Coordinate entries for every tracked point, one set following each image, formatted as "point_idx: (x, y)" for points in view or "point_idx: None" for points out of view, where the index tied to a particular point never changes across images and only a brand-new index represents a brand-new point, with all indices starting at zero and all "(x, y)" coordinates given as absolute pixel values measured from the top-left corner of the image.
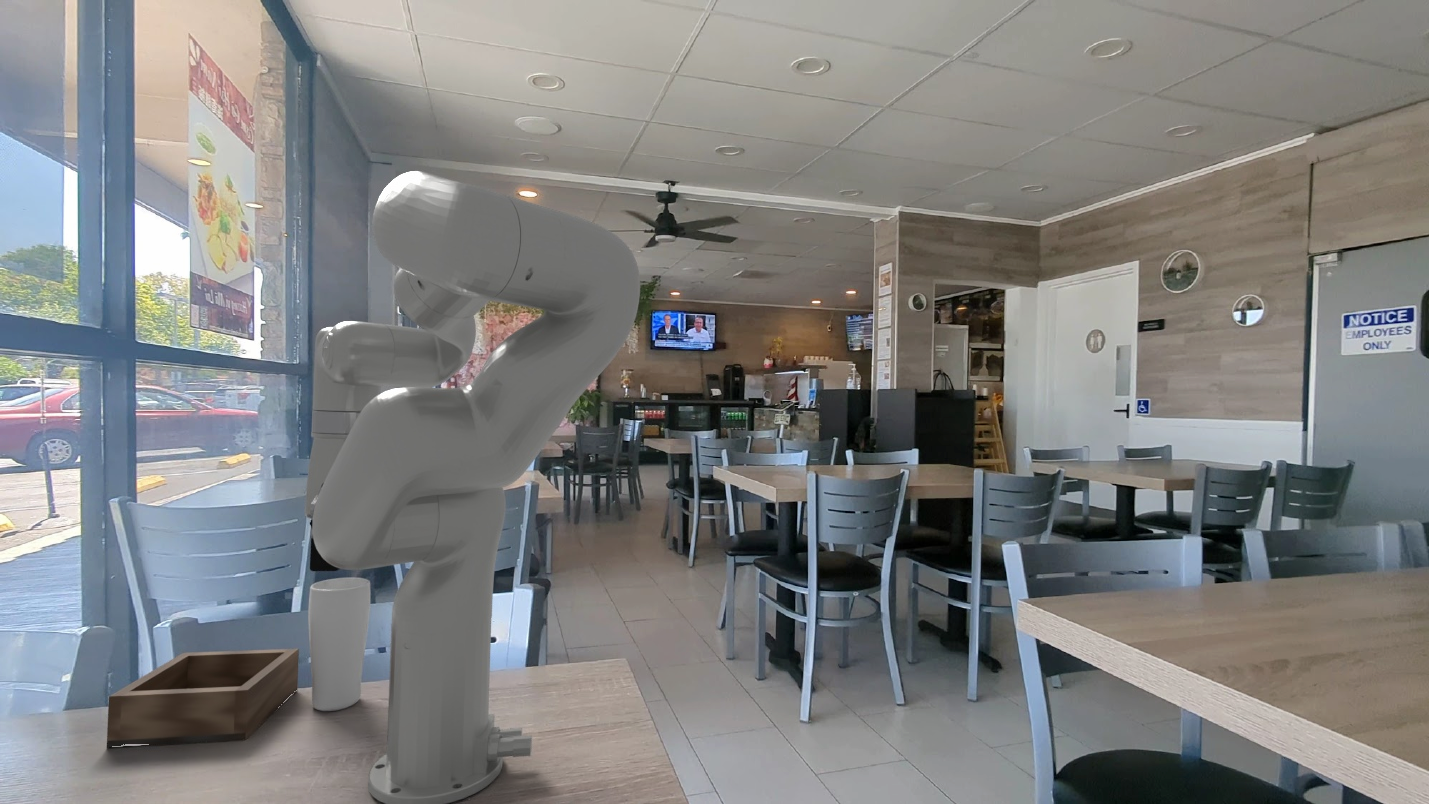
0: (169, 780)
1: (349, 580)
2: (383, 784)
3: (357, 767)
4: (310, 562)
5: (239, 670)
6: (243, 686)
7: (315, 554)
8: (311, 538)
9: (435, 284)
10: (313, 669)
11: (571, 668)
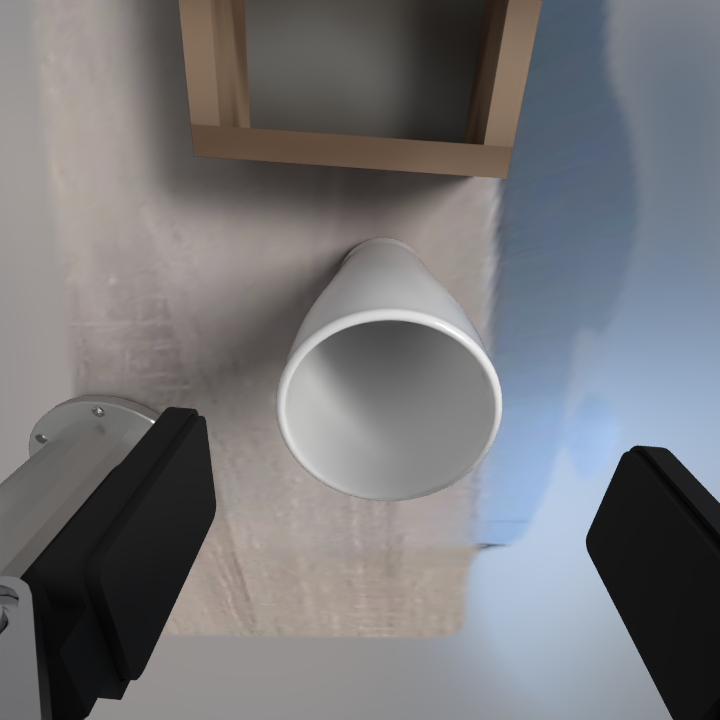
0: (79, 75)
1: (489, 420)
2: (52, 423)
3: (137, 370)
4: (148, 431)
5: (497, 3)
6: (217, 134)
7: (87, 499)
8: (45, 559)
9: None
10: (344, 264)
11: (447, 593)
